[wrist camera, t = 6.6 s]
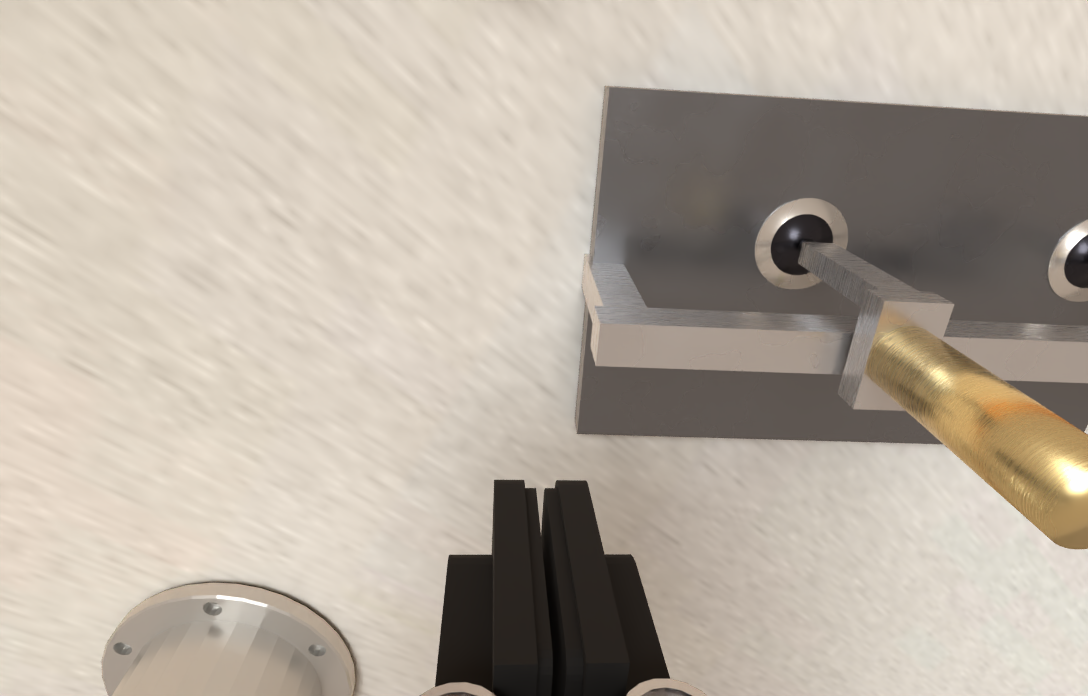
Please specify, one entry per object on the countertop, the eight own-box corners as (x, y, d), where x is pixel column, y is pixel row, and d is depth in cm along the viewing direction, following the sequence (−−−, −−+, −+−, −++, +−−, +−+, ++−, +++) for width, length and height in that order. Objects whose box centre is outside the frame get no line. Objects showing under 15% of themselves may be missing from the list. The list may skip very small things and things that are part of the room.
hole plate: (1056, 433, 30) (1078, 449, 29) (574, 419, 29) (577, 435, 28) (1196, 122, 24) (1231, 125, 23) (604, 85, 23) (609, 86, 22)
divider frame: (1096, 320, 28) (1376, 443, 19) (573, 298, 26) (604, 420, 17) (1130, 244, 26) (1450, 338, 17) (580, 216, 25) (617, 303, 16)
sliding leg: (814, 321, 25) (1110, 577, 13) (765, 319, 25) (1015, 575, 13) (835, 238, 24) (1189, 432, 11) (783, 235, 24) (1085, 429, 11)
